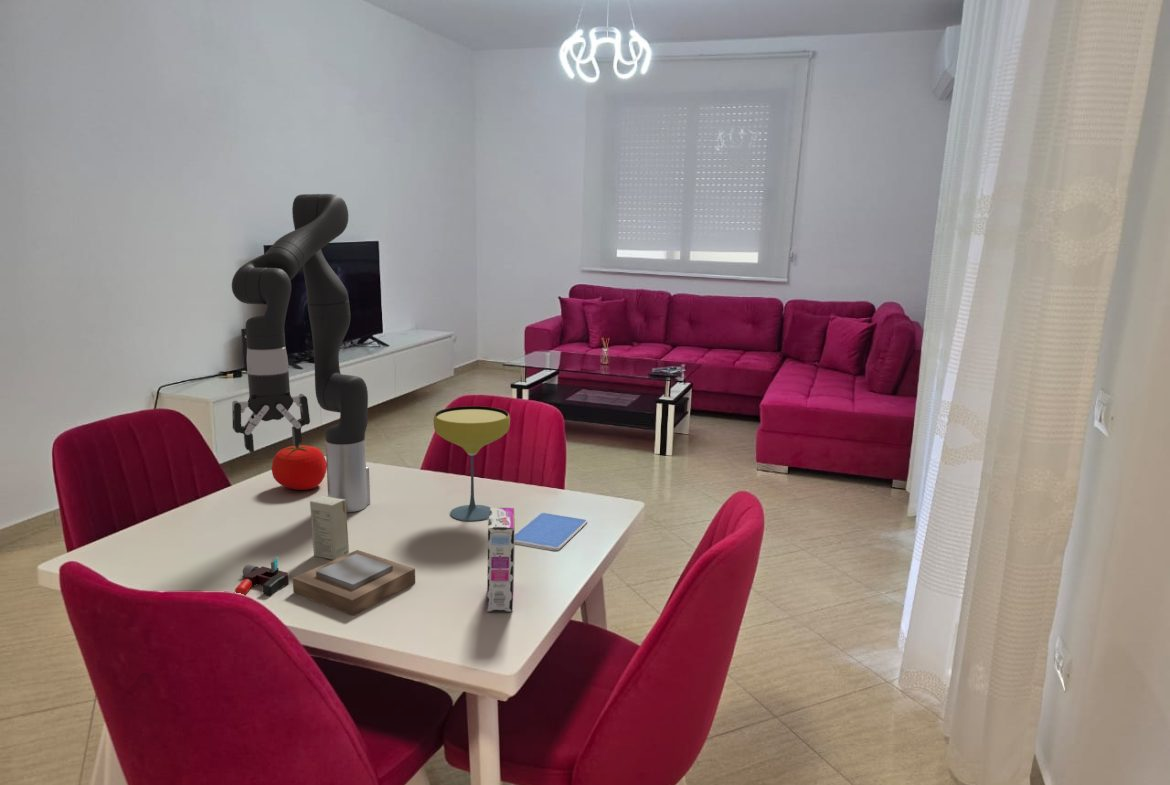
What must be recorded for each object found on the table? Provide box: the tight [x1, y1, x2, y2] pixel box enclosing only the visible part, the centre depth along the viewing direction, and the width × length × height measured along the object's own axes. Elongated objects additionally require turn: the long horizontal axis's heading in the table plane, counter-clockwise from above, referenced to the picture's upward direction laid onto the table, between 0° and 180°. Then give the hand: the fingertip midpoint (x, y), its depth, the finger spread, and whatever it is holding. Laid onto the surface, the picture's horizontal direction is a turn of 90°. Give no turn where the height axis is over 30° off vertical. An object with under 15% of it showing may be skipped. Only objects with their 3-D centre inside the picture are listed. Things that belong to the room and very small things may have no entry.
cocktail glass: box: [433, 405, 511, 522], centre depth 188 cm, size 18×18×25 cm
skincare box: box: [309, 495, 350, 561], centre depth 164 cm, size 6×4×12 cm
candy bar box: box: [486, 507, 516, 613], centre depth 146 cm, size 11×5×16 cm, turn 5°
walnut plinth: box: [292, 549, 416, 616], centre depth 150 cm, size 16×16×4 cm
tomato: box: [271, 444, 327, 491], centre depth 205 cm, size 13×14×12 cm
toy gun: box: [234, 556, 289, 597], centre depth 150 cm, size 10×12×5 cm
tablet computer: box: [515, 512, 589, 552], centre depth 181 cm, size 19×13×1 cm, turn 160°
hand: (273, 448), depth 157 cm, fingers open, 8 cm apart
